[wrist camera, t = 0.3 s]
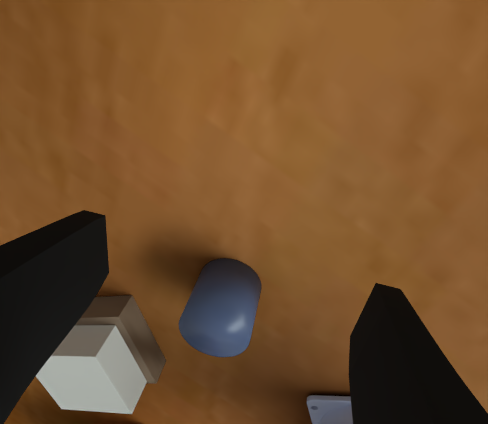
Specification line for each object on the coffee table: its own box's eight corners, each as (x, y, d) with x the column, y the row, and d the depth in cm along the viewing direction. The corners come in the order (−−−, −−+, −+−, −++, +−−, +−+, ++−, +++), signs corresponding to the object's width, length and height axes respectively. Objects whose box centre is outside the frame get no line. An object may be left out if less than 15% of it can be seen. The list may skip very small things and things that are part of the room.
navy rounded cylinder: (267, 304, 24) (257, 357, 20) (210, 307, 25) (192, 357, 21) (253, 255, 22) (239, 304, 18) (192, 260, 23) (168, 307, 20)
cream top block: (147, 381, 27) (131, 414, 25) (80, 378, 29) (61, 409, 27) (115, 325, 24) (95, 356, 22) (43, 325, 26) (19, 355, 24)
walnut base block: (168, 355, 29) (156, 383, 27) (95, 355, 31) (79, 381, 29) (135, 290, 26) (118, 316, 24) (56, 294, 28) (34, 319, 26)
